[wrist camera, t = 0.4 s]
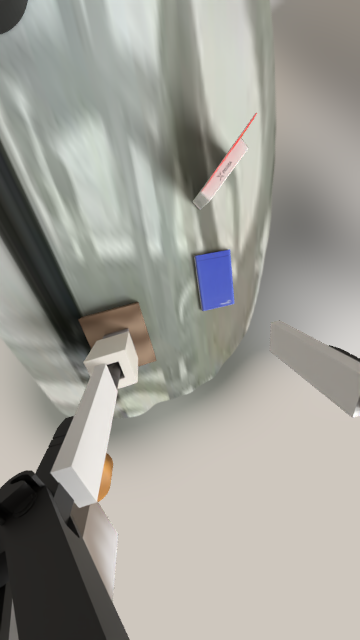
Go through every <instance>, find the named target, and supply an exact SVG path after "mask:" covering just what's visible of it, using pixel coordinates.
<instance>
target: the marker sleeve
mask: <svg viewBox="0 0 360 640" xmlns="http://www.w3.org/2000/svg"><path fill="white" fill-rule="evenodd" d="M118 361H119V364H120V366H121V372H120V378H119V383H118V388H117V389H119V388H122V387H125V386H128V385H131V384H134V383H137V382H138V356H137V354H136V351H135V348H134V345H133V342H132V339H131V337H130V334H129V332H125V333H122V334H118V335H115V336H111V337H108V338H105V339H101V340H98V341H96V343H95V344H94V346H93V348H92V349H91V351H90V353H89V354H88V356H87V358H86V359H85V361H84V364H85V366H86V368H87V370H88V372H89V375H90V377H91V375H92V372H93V370H94V368H95V366H97V365H101V364H105V363H106V365H108V364H112V363H115V362H118Z"/></svg>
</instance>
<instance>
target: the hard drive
mask: <svg viewBox="0 0 360 640" xmlns="http://www.w3.org/2000/svg"><path fill="white" fill-rule="evenodd" d="M194 259H195V267H196V274H197V281H198V288H199V295H200V302H201V309H202V311H206V310H210V309H214V308H219V307H223V306H227V305H232V304H234V293H233V281H232V268H231V256H230V250H225V251H220V252H214V253H209V254H203V255H198V256H194Z"/></svg>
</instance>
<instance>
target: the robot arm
mask: <svg viewBox="0 0 360 640" xmlns="http://www.w3.org/2000/svg"><path fill="white" fill-rule="evenodd" d="M27 1H28V0H0V34H2V33H5V32H7V31H9V30H10V29H12V28H13V27H14V26H15V25H16V24H17V23H18V22H19V21H20V19H21V17H22V16H23V14H24V11H25V9H26V5H27ZM270 352H272V353H273V354H274V355H275V356H276V357H278V358H279V359H280V360H281V361H283V362H284V363H285V364H286V365H288V366H289V367H290V368H292V369H293V370H294V371H295V372H296V373H298V374H299V375H300V376H301V377H302V378H304V379H305V380H306V381H308V382H309V383H310V384H311V385H312V386H314V387H315V388H316V389H317V390H319V391H320V392H321V393H322V394H324V395H325V396H326V397H327V398H329V399H330V400H331V401H332V402H333V403H335V404H336V405H337V406H338V407H340V408H341V409H342V410H343V411H345V412H346V413H347V414H349V415H350V416H351V417H352V418H354V417H356V416H360V358H357V357H356V356H354V355H352V354H351V355H350V353H348V352H346V351H344V350H342V349H340V348H336V347H333V346H330V345H329V346H328V345H325V344H324V343H322V342H320V341H318V340H316V339H314V338H312V337H310V336H308V335H307V334H305V333H303V332H301V331H299V330H297V329H295V328H293V327H291V326H289V325H287V324H285V323H283V322H281V321H280V320H279V321H275V322H272V323H271V334H270ZM117 392H118V391H117V389H116V386H115V384H114V382H113V379H112V377H111V374H110V372H109V369H108V367H107V365H106V363H105V364H101V365H97V366H95V368H94V370H93V372H92V375H91V377H90V380H89V382H88V384H87V387H86V389H85V391H84V394H83V396H82V399H81V401H80V403H79V406H78V408H77V411H76V413H75V415H74V416H72V417H68V418H66V419H65V420H64V421H63V422H62V423H61V424H60V426H59V427H58V428H57V430H56V432H55V434H54V437H53V440H51V443H50V445H49V448H48V449H47V451H46V453H45V455H44V457H43V459H42V461H41V463H40V465H39V467H38V469H37V471H36V473H34V472H33V471H24V472H21V473H19V474H17V475H16V476H14V477H12V478H11V479H10V480H8V481H7V482H6V483H5V484H4V485H3V486H2V487H1V488H0V640H9V631H10V620H11V610H12V599H13V606H14V612H15V619H16V626H17V632H18V639H19V640H129V637H128V635H127V633H126V631H125V629H124V626H123V624H122V622H121V620H120V618H119V616H118V613H117V611H116V609H115V607H114V605H113V603H112V600H111V598H110V596H109V594H108V592H107V590H106V587H105V585H104V583H103V581H102V579H101V577H100V574H99V572H98V570H97V568H96V566H95V564H94V561H93V559H92V557H91V555H90V553H89V551H88V548H87V546H86V544H85V542H84V540H83V538H82V535H81V533H80V531H79V529H78V527H77V525H76V522H75V520H74V518H73V516H72V515H71V510H72V506H73V503H74V502H75V504H76V505H77V506H78V507H79V508H81V507H84V506H87V505H90V504H93V503H96V502H97V499H98V494H99V488H100V483H101V478H102V472H103V467H104V461H105V456H106V451H107V445H108V440H109V435H110V429H111V424H112V419H113V413H114V408H115V403H116V397H117Z"/></svg>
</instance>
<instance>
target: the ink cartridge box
mask: <svg viewBox="0 0 360 640" xmlns="http://www.w3.org/2000/svg"><path fill="white" fill-rule="evenodd" d="M256 114H257V113H255V115H254V116H253V118H252V119H251V120H250V122H249V123H248V125H247V126H246V128H245V129H244V130H243V132H242V133H241V135H240V136H239V137H238V139H237V140H236V141H235V143H234V144H233V146H232V147H231V148H230V150H229V151H228V153H227V154H226V156H225V157H224V158H223V160H222V161H221V163H220V164H219V166H218V167H217V168H216V170H215V171H214V172H213V174H212V175H211V177H210V178H209V179H208V181H207V182H206V184H205V185H204V186H203V188H202V189H201V190H200V192H199V193H198V195H197V196H196V197H195V199H194V200H193V201H192V202H193V203H194V204H195V205H196V206H197V207H198V208H199V209H200V210H201V209H202V208H203V207H204V206H205V205H206V204H207V203H208V202H209V201H210V200H211V199H212V197H213V196H214V195H215V193H216V192H217V190H218V189H219V188H220V186H221V185H222V184H223V182H224V181H225V180H226V178H227V177H228V176H229V174H230V173H231V171H232V170H233V169H234V167H235V166H236V165H237V163H238V162H239V161H240V159H241V158H242V157H243V155H244V154H245V152H246V151H247V150H248V146H247V145H246V144H245V142H244V141H243V139H242V138H241V137H242V136H243V134H244V132H245V131H246V129H247V128H248V127H249V125H250V124H251V122H252V121H253V119H254V117H255V116H256Z"/></svg>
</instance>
